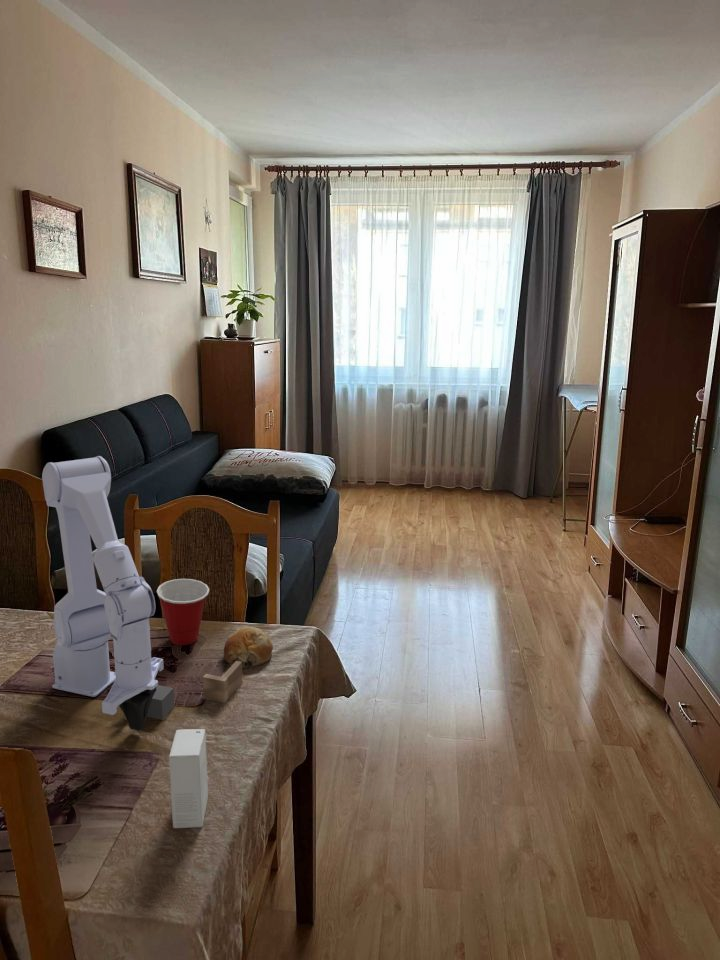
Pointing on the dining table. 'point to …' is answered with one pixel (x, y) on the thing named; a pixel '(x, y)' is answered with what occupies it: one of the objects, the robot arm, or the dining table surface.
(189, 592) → the plastic cup
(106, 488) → the robot arm
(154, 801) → the dining table surface
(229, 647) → the bread roll
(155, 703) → the gray cube block
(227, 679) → the wooden blocks
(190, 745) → the skincare box
